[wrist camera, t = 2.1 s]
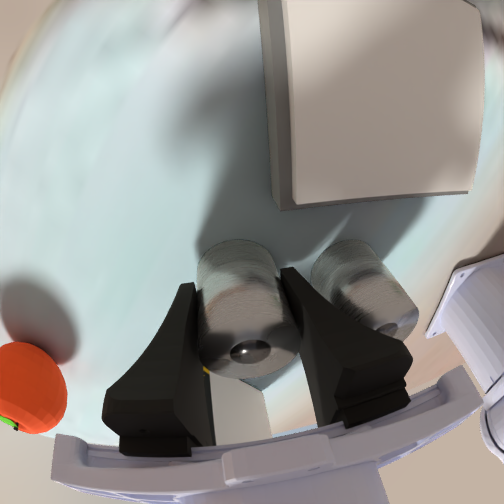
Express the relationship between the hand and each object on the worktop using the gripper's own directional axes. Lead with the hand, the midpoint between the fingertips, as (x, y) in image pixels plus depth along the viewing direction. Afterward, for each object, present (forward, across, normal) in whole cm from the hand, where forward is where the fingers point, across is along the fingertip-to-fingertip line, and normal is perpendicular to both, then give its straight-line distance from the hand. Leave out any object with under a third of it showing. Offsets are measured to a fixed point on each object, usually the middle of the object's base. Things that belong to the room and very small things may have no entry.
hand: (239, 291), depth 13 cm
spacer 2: (+2, -6, +1) cm, 6 cm away
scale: (+1, -7, -11) cm, 13 cm away
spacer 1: (+1, 0, 0) cm, 1 cm away
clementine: (+2, +17, +5) cm, 18 cm away
